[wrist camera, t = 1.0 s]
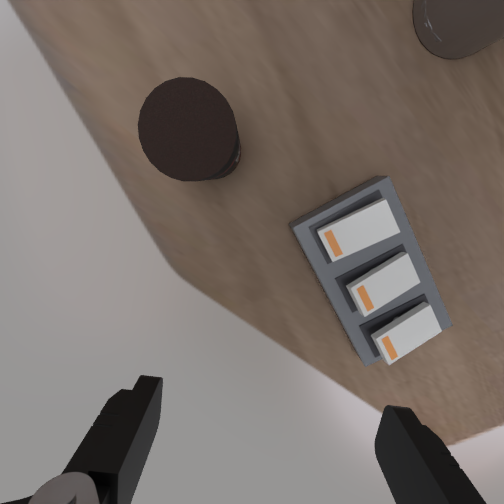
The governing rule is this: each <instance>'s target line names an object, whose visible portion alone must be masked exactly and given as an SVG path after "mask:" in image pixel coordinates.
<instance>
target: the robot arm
mask: <svg viewBox="0 0 504 504" xmlns="http://www.w3.org/2000/svg"><path fill="white" fill-rule="evenodd" d="M413 22H414V26H415V30H416V33H417V35H418V37H419V39H420V41H421V42H422V44H423V45H424V46H425V47H426V48H427V49H428V50H429V51H430V52H432V53H433V54H435V55H437V56H440V57H442V58H448V59H457V58H463V57H466V56H469V55H472V54H473V53H475V52H477V51H479V50H481V49H483V48H485V47H487V46H488V45H490V44H492V43H494V42H496V41H498V40H500V39H502V38H504V0H414V6H413ZM162 387H163V378H161V377H153V376H144V375H141V376H140V377H139V379H138V381H137V382H136V384H135V386H134V388H133V390H126V389H121V390H120V391H119V392H117V393H116V394H115V395H113V396H112V397H111V398H110V399H108V401H107V403H106V404H105V406H104V407H103V409H102V410H101V413H100V415H98V417H97V419H96V420H95V422H94V423H93V426H91V428H90V430H89V431H88V433H87V434H86V436H85V438H84V439H83V441H82V442H81V444H80V446H79V447H78V449H77V450H76V452H75V453H74V455H73V457H72V458H71V460H70V462H69V463H68V465H67V466H66V468H65V469H64V471H63V472H62V474H61V475H59V476H57V477H55V478H53V479H51V480H49V481H48V482H46V483H45V484H44V485H42V486H41V487H40V488H39V489H38V490H37V492H36V493H35V494H34V495H32V496H30V497H27V498H23V499H20V500H15V501H11V502H6V503H1V504H131V501H132V498H133V495H134V493H135V490H136V487H137V484H138V481H139V479H140V476H141V473H142V470H143V468H144V465H145V462H146V460H147V457H148V454H149V452H150V449H151V446H152V443H153V441H154V438H155V435H156V432H157V429H158V425H159V420H160V412H161V399H162ZM375 454H376V458H377V460H378V463H379V465H380V467H381V470H382V472H383V474H384V477H385V479H386V481H387V484H388V486H389V488H390V490H391V493H392V495H393V497H394V499H395V502H396V504H486V502H485V501H484V500H483V498H482V497H481V495H480V494H479V493H478V491H477V490H476V488H475V487H474V485H473V484H472V483H471V481H470V480H469V478H468V477H467V476H466V474H465V473H464V471H463V470H462V469H460V467H459V464H458V463H457V461H456V460H455V459H454V457H453V456H451V453H450V451H449V450H448V448H447V447H446V446H445V444H444V443H443V441H442V440H441V439H440V438H439V437H438V436H437V435H436V434H435V433H434V432H433V431H432V430H430V429H429V428H428V427H427V426H426V425H422V424H421V422H420V421H419V420H418V418H417V417H416V415H415V414H414V412H413V411H412V410H411V409H410V408H408V407H400V406H391V405H387V406H386V407H385V408H384V411H383V414H382V418H381V422H380V425H379V428H378V431H377V435H376V438H375Z"/></svg>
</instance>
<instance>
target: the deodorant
mask: <svg viewBox="0 0 504 504" xmlns="http://www.w3.org/2000/svg"><path fill="white" fill-rule="evenodd" d="M138 132H139V139H140V142H141V145H142V149H143V151H144V153H145V154H146V156H147V158H148V159H149V161H150V162H151V163H152V164H153V165H154V166H155V167H156V168H157V169H158V170H159V171H160V172H162V173H164V174H165V175H167V176H169V177H171V178H174V179H177V180H181V181H202V180H211V179H218V178H222V177H225V176H227V175H228V174H230V173H231V172H232V171H233V170H234V169H235V168H236V166H237V164H238V163H239V160H240V156H241V146H240V141H239V136H238V131H237V126H236V122H235V118H234V114H233V111H232V109H231V107H230V105H229V104H228V102H227V100H226V99H225V97H224V96H223V95H222V94H221V93H220V92H219V91H218V90H217V89H216V88H214V87H213V86H211V85H210V84H208V83H206V82H205V81H201V80H198V79H195V78H183V77H178V78H175V79H171V80H168V81H165V82H164V83H162V84H161V85H159V86H157V87H156V88H155V89H154V90H153V91H152V92H151V93H150V94H149V96H148V97H147V98H146V100H145V102H144V104H143V106H142V108H141V110H140V115H139V121H138Z"/></svg>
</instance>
